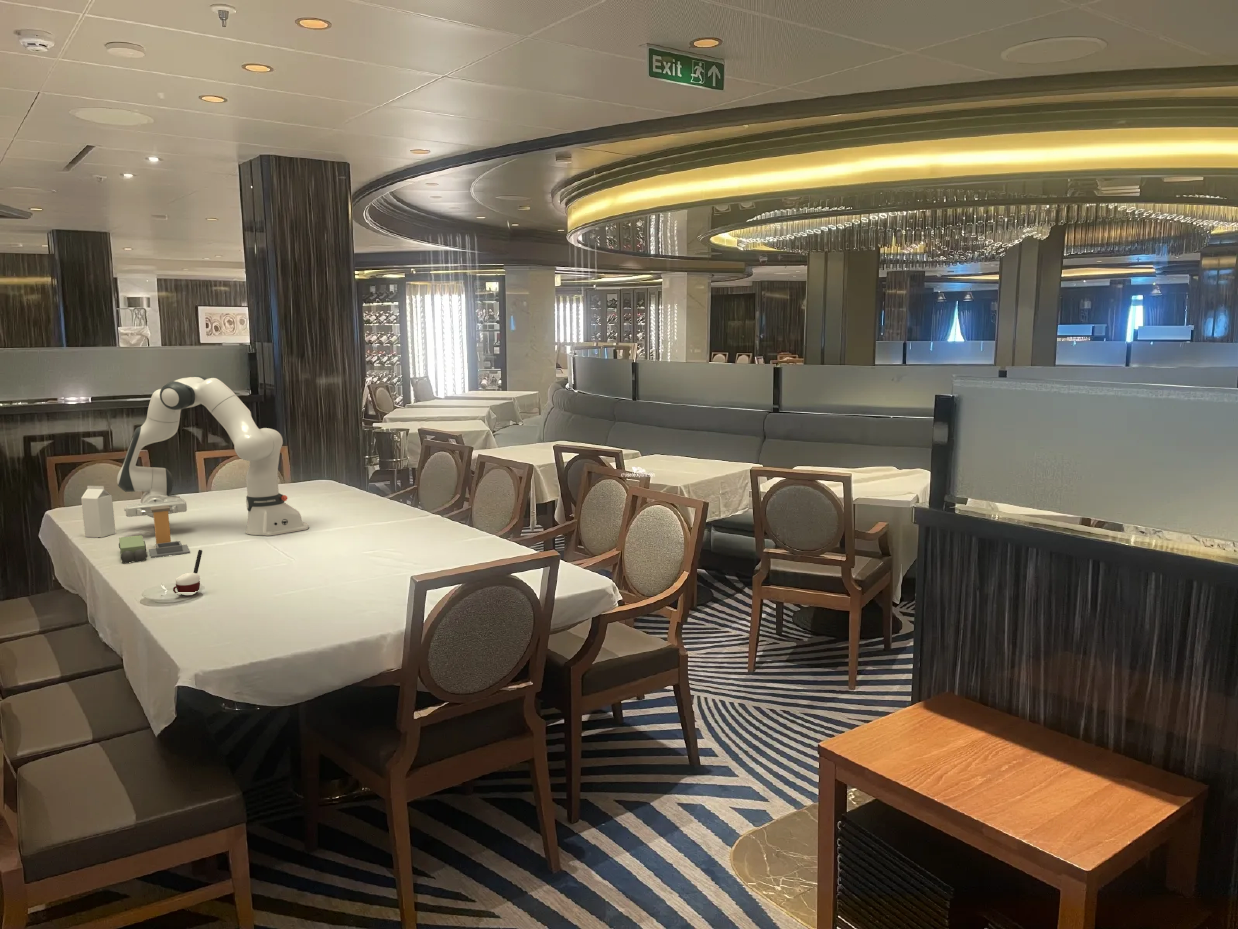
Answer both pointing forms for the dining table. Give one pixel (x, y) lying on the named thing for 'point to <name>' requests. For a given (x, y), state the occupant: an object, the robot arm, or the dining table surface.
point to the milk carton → (98, 512)
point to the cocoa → (189, 579)
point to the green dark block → (132, 549)
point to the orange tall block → (161, 524)
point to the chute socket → (169, 549)
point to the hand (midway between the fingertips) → (157, 512)
